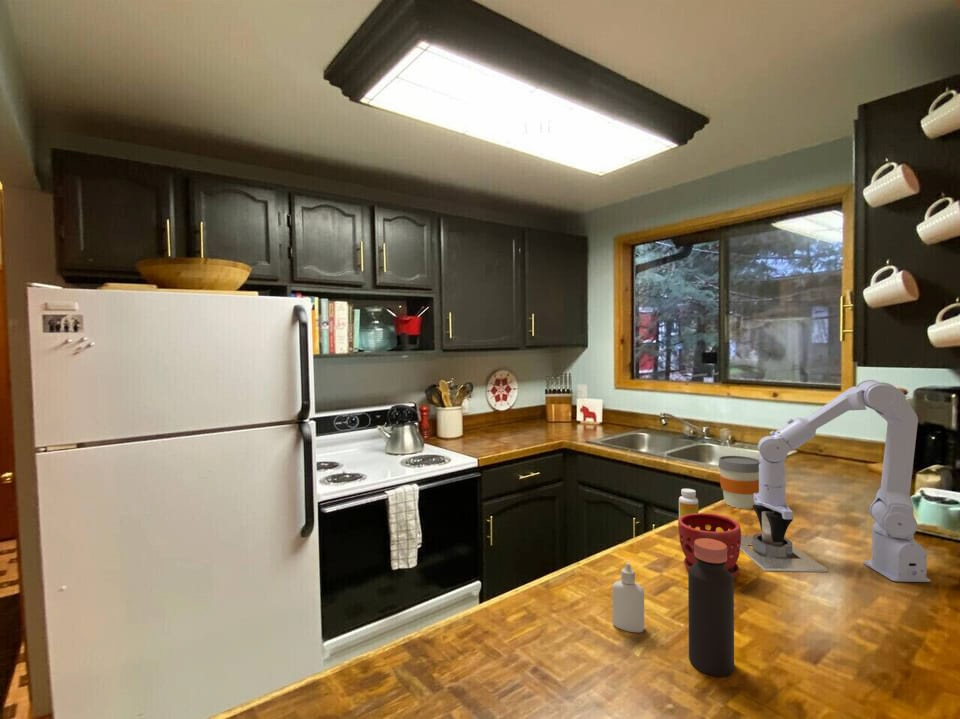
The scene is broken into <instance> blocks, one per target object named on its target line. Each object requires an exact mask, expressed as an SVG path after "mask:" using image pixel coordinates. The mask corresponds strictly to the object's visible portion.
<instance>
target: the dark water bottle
mask: <svg viewBox="0 0 960 719" xmlns="http://www.w3.org/2000/svg"><path fill="white" fill-rule="evenodd" d="M694 555H695V559H696V563H695V564H694V565H692V566H691V567H690V568H689V570H688V569H687V570H688V571H687V574H688V575H687V577H688V578H687V579H688V580H687V584H688V590H687V591H688V595H687V596H688V659H689V662H690V663H691V665H693V667H694V668H696V669H697V670H698V671H700V672H702V673H704V674H707V675H709V676H713V677H725V676H729V675H731V674H732V673H733V671H734V670H735V609H734V608H735V597H734V596H735V591H734V590H735V580H734V578H733V576H732V574H731V573H730V572H729V571H728V570H727V569H726V568H725V564H726V563H727V545H726V544H724V543H723V542H721V541H718V540H714V539H708V538H701V539H697V540H695V541H694Z"/></svg>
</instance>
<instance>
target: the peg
mask: <svg viewBox="0 0 960 719" xmlns="http://www.w3.org/2000/svg"><path fill="white" fill-rule="evenodd" d="M766 513H774V512H773V511H763V512H762V530H761V534H762V542H764V543H767V544H771V545H783V542H773V540H772V536H771V527H770V523H769V520H768V518H767V516H766Z"/></svg>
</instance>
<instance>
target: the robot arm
mask: <svg viewBox="0 0 960 719" xmlns="http://www.w3.org/2000/svg"><path fill="white" fill-rule="evenodd" d="M868 408H869V409H871V410H872V411H875V412H876V413H877V414H878V415H879V416H881V417H882V418H883V419H884V420H885V421H886V422H887V425H886V434H885V436H886V437H885V444H884V451H883V452H884V453H883V463H882V472H881V481H880V482H881V483H880V488H879V489H878V490H877V491H876V495H875V499H874V501H873V502H872V503H871V504H870V507H869V513H870V515H871V518H872V519H874V521H875V522H874V524H873V525H872V527H871V528H872V531H871V534H872V535H871V536H872V537H871V540H872V541H871V543H872V545H871V548H872V549H871V550H872V551H871V552H872V554H871V556H872V557H871V558H872V559H871V560H862V563H863V564H864V565H865V566H867V567H869V568H871V569H872V570H874V571H876V572H877V573H879V574H880V575H882V576H884V577H886V578H887V579H889V580H890V581H892V582H903V583H904V582H906V583H907V582H908V583H912V582H914V583H931V582H932V581H931V579H930V578H928V577H927V565H928V564H927V557H928V556H927V552H926V550H925V548H924V547H922V545H921V544H919V543H918V542H917V541H916V539H915V536H914V535H915V534H916V532H917V529H918V522H917V519H916V518H915V515H914V509H915V508H914V503H913V501H912V499H911V495H910V494H911V487H912V477H913V470H914V458H915V451H916V450H915V449H916V440H917V432H918V425H919V424H918V423H919V420H918V418H919V417H918V416H917V413H916V411H915V410H914V409H913V407H912V406H911V405H910V403H909V401H908V400H907V398H906V394H905V393H904V392H903V391H901V390H900V389H898V388H897V387H896V386H894V385H893V384H891V383H887V382H884V381H883V382H882V381H877V380H874V379H867V380H863V381H861V382H859V383H858V384H857V385H856V386H851V387H849V388H847V389H846V390H844V391H843V392H842V393H839V395H837V396H836V397H834V398H833V399H831V400H830V401H829V402H827V403H826V404H825V405H823V406H822V407H820V408H819V409H817V410H815V411H814V412H813V413H811V414H810V415H809V416H807V417H806V418H805V417H804V418H803V417H795V418H794V419H792V418H789V419H788V420H786V424H785V425H783V426H782V427H780V428H779V429H777V430H776V431H774V430H772V431H770V432H769V434H770V435H766V436H764V437H762V438H760V440H759V441H758V443H757V446H756V447H757V448H756V449H757V451H758V452H759V453H760V455H759V459H758V460H759V462H760V464H759V493H754V503H755V504H756V505H753V510H754V511H755V512H754V513H755V515H756V516H757V518H758V523H759V525H760V527H759V528H760V529H761V531H762V512H763V511H773V512H774V513H766V516H767V518H768V520H769V523H770V527H771V536H772V540H773V542H783V540H784V538H785V536H786V533H787V530H788V527H790V526H789V525H791V523H792V522H793V520H794V511H793V510H791V508H790V506H788V503H786V467H785V459H786V458H787V456H788V453H789V452H793V451H794V450H796V449H797V448H799V447H801V446H803V445H805V444H806V443H807V442H809V441H810V440H812V439H813V438H815V437H816V433H817V430H818V429H819V428H821V427H823V426H824V425H826V424H828V423H829V422H831V421H833V420H835V419H836V418H838V417H840V416H842V415H844V414H845V413H847V412H849V411H866V410H867V409H868Z"/></svg>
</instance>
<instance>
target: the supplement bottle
mask: <svg viewBox="0 0 960 719" xmlns="http://www.w3.org/2000/svg"><path fill="white" fill-rule="evenodd" d="M680 490H681V491H680V492H681V493H680V494H681V496H679V497H678V519H679V518H680V517H682V516H684V515H687V514H694V513H699V499H698V497H696V496H697V495H696V494H697V492H696V489H692V488H682V489H680Z"/></svg>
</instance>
